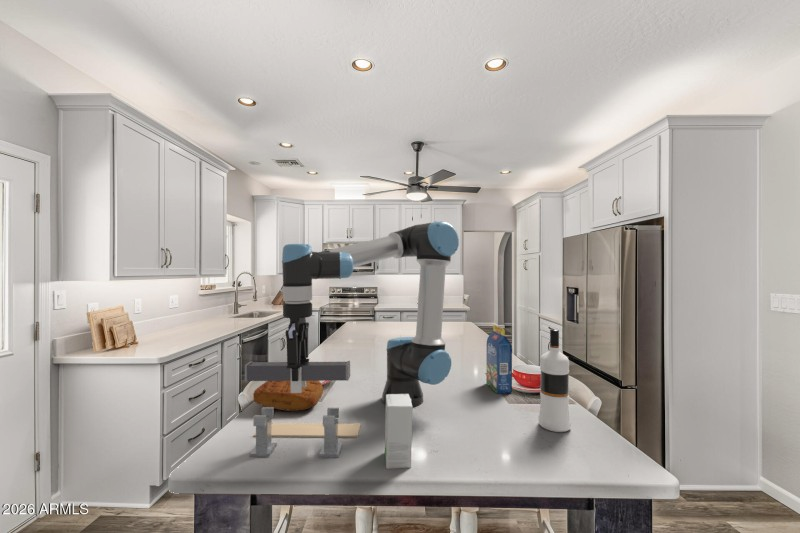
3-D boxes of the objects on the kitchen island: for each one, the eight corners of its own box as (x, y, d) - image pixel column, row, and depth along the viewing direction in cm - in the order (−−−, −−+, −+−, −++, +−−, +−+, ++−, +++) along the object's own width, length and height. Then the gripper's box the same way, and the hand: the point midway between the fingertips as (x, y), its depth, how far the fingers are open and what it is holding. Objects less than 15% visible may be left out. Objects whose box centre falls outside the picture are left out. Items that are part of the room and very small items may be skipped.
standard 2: (342, 445, 99) (342, 407, 99) (338, 457, 93) (338, 416, 93) (324, 445, 99) (324, 407, 99) (318, 457, 93) (319, 416, 93)
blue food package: (500, 383, 153) (500, 324, 153) (512, 393, 141) (512, 329, 141) (486, 383, 152) (486, 324, 152) (496, 393, 140) (496, 329, 140)
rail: (350, 376, 98) (350, 360, 98) (348, 380, 94) (348, 364, 94) (250, 376, 98) (250, 361, 98) (244, 381, 95) (244, 365, 95)
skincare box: (384, 452, 96) (384, 393, 96) (409, 451, 96) (409, 392, 96) (386, 469, 87) (386, 405, 87) (413, 468, 88) (413, 404, 88)
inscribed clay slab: (248, 414, 120) (248, 390, 120) (269, 396, 137) (269, 375, 137) (313, 416, 119) (313, 391, 119) (326, 397, 136) (326, 376, 136)
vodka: (531, 423, 114) (532, 328, 114) (552, 418, 118) (553, 326, 118) (556, 435, 105) (556, 333, 105) (577, 429, 109) (578, 330, 109)
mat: (360, 425, 112) (360, 423, 112) (357, 437, 104) (357, 435, 104) (264, 424, 112) (264, 423, 112) (253, 436, 104) (253, 435, 104)
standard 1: (277, 445, 99) (277, 407, 99) (268, 457, 93) (268, 416, 93) (259, 445, 99) (259, 407, 99) (249, 456, 93) (249, 416, 93)
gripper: (293, 299, 105) (294, 379, 105) (272, 305, 88) (273, 401, 88) (319, 298, 104) (319, 379, 105) (303, 305, 88) (304, 401, 88)
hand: (298, 389), depth 96 cm, fingers closed on rail, 3 cm apart
